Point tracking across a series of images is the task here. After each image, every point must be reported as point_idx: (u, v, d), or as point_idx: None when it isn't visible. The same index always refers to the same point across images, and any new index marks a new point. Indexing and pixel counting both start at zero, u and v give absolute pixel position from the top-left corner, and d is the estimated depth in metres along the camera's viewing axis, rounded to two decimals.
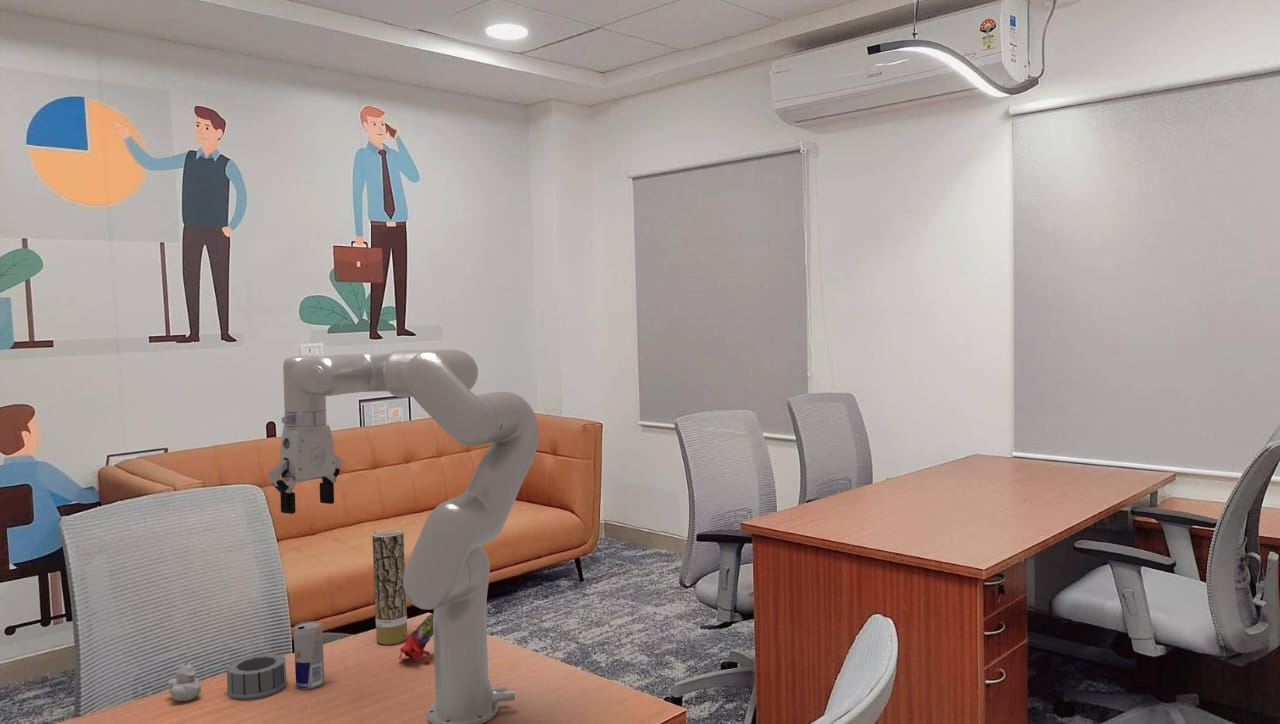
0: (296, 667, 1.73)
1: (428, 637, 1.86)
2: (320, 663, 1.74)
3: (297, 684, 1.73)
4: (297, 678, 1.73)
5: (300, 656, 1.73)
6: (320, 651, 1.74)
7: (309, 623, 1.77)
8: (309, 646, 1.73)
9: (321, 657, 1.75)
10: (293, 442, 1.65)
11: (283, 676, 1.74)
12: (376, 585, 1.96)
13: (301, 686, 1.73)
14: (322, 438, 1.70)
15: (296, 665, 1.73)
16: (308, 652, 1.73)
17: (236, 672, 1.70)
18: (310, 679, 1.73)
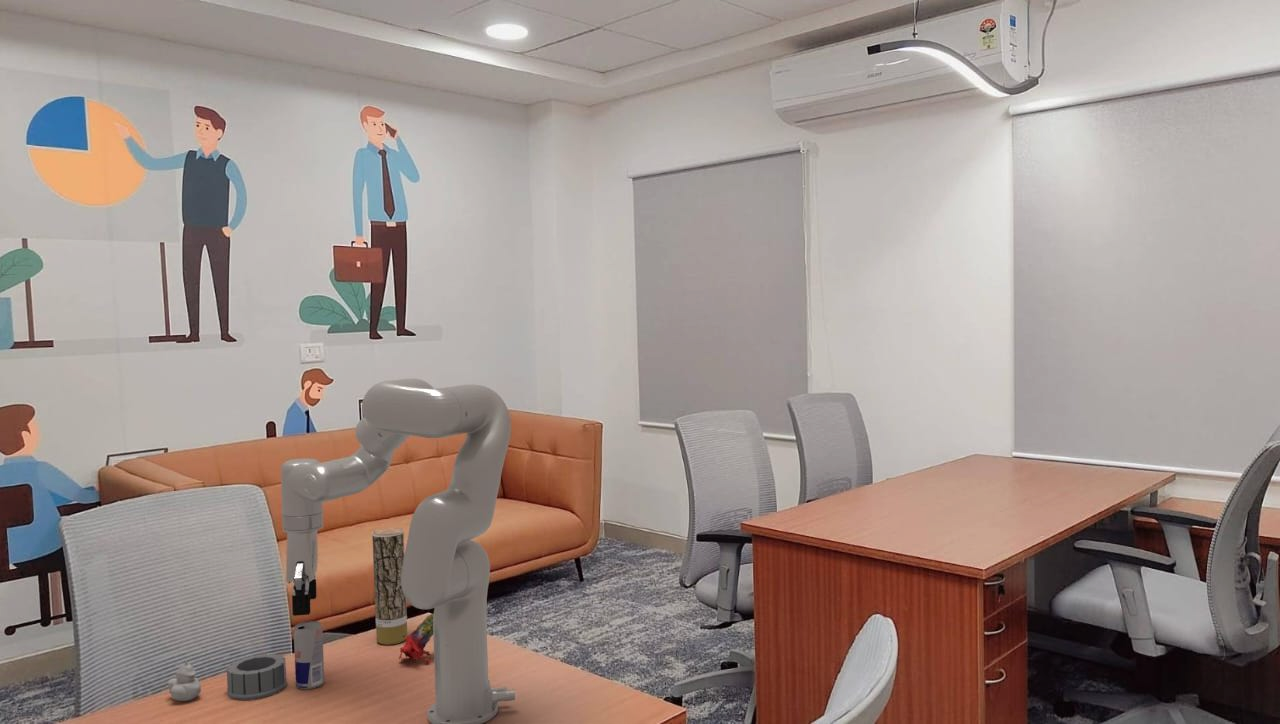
0: (296, 667, 1.73)
1: (428, 637, 1.86)
2: (320, 663, 1.74)
3: (297, 684, 1.73)
4: (297, 678, 1.73)
5: (300, 656, 1.73)
6: (320, 651, 1.74)
7: (309, 623, 1.77)
8: (309, 646, 1.73)
9: (321, 657, 1.75)
10: None
11: (283, 676, 1.74)
12: (376, 585, 1.96)
13: (301, 686, 1.73)
14: None
15: (296, 665, 1.73)
16: (308, 652, 1.73)
17: (236, 672, 1.70)
18: (310, 679, 1.73)
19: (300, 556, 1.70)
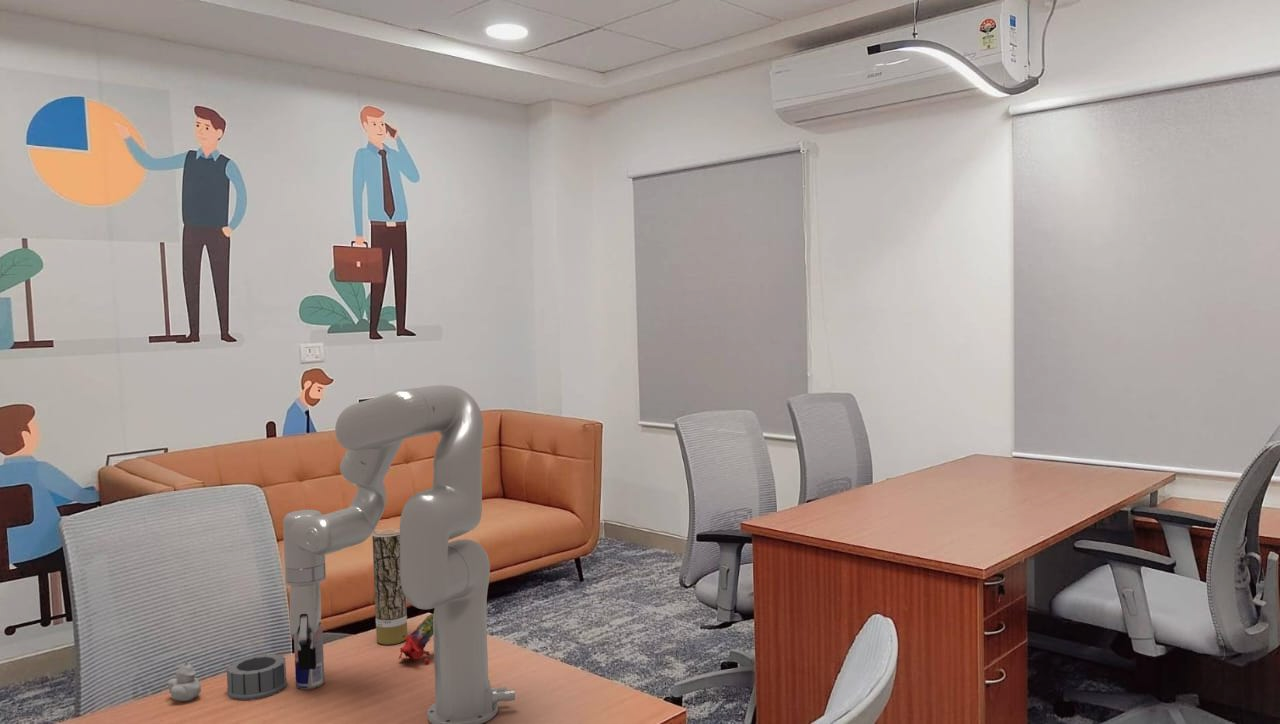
0: (296, 667, 1.73)
1: (428, 637, 1.86)
2: (320, 663, 1.74)
3: (297, 684, 1.73)
4: (297, 678, 1.73)
5: None
6: (320, 651, 1.74)
7: None
8: None
9: (321, 657, 1.75)
10: None
11: (283, 676, 1.74)
12: (376, 585, 1.96)
13: (301, 686, 1.73)
14: None
15: (296, 665, 1.73)
16: None
17: (236, 672, 1.70)
18: (310, 679, 1.73)
19: (303, 609, 1.70)
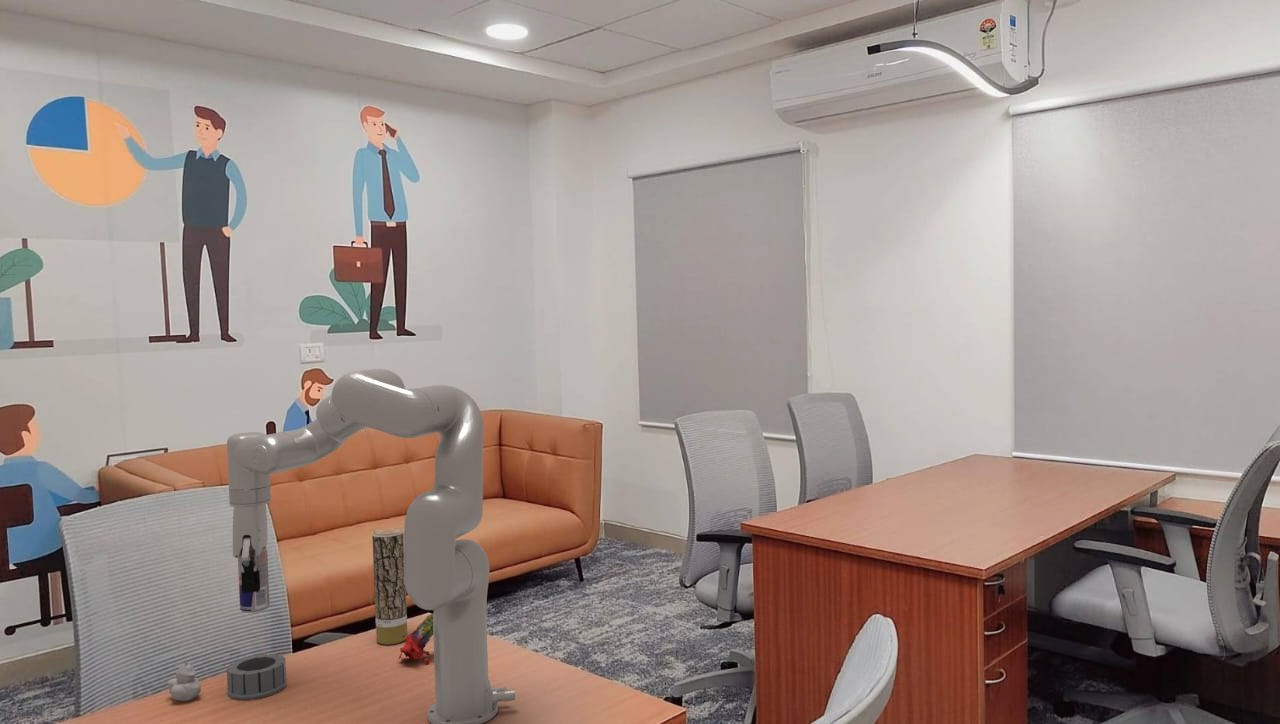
0: (240, 590, 1.71)
1: (428, 637, 1.86)
2: (264, 587, 1.72)
3: (241, 607, 1.71)
4: (241, 601, 1.71)
5: None
6: (264, 574, 1.72)
7: None
8: None
9: (266, 581, 1.73)
10: None
11: (283, 676, 1.74)
12: (376, 585, 1.96)
13: (245, 609, 1.71)
14: None
15: (240, 588, 1.71)
16: None
17: (236, 672, 1.70)
18: (254, 602, 1.71)
19: (246, 530, 1.68)
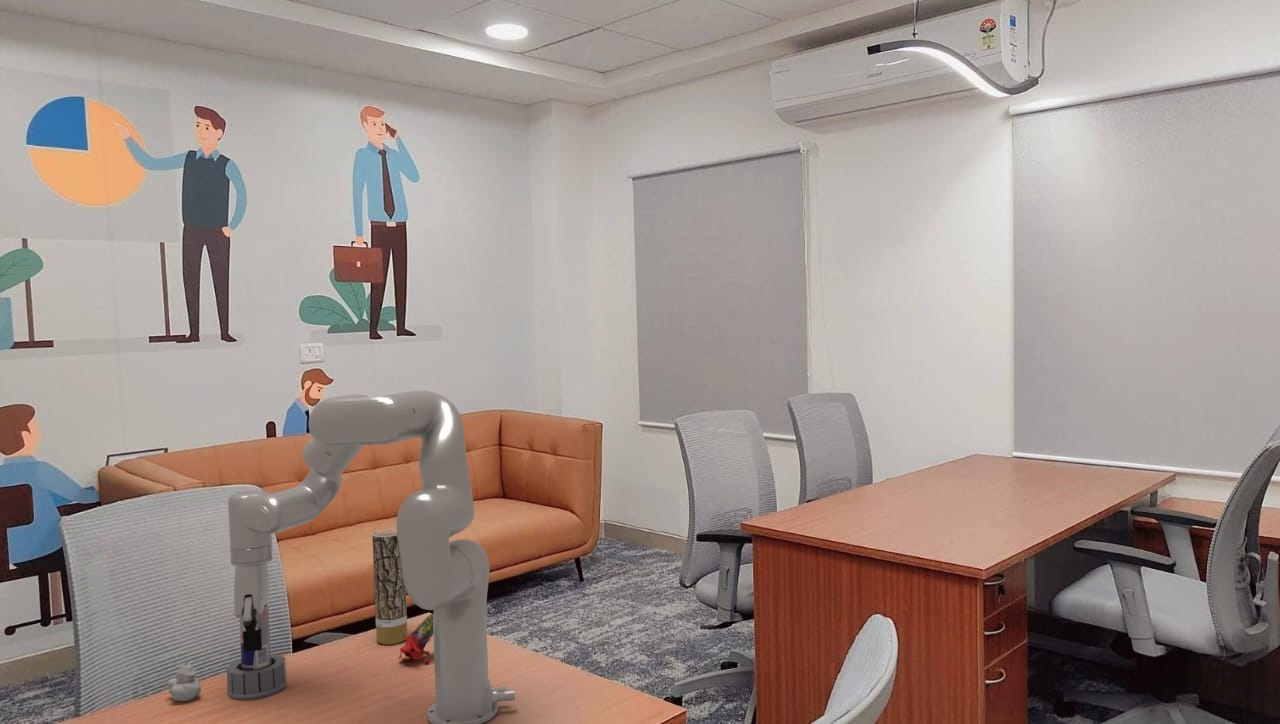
0: (241, 648, 1.72)
1: (428, 637, 1.86)
2: (266, 644, 1.73)
3: (242, 666, 1.72)
4: (242, 659, 1.72)
5: None
6: (266, 632, 1.73)
7: None
8: None
9: (267, 638, 1.73)
10: None
11: (283, 676, 1.74)
12: (376, 585, 1.96)
13: (246, 668, 1.71)
14: None
15: (241, 646, 1.72)
16: None
17: (236, 672, 1.70)
18: (256, 660, 1.71)
19: (248, 589, 1.68)
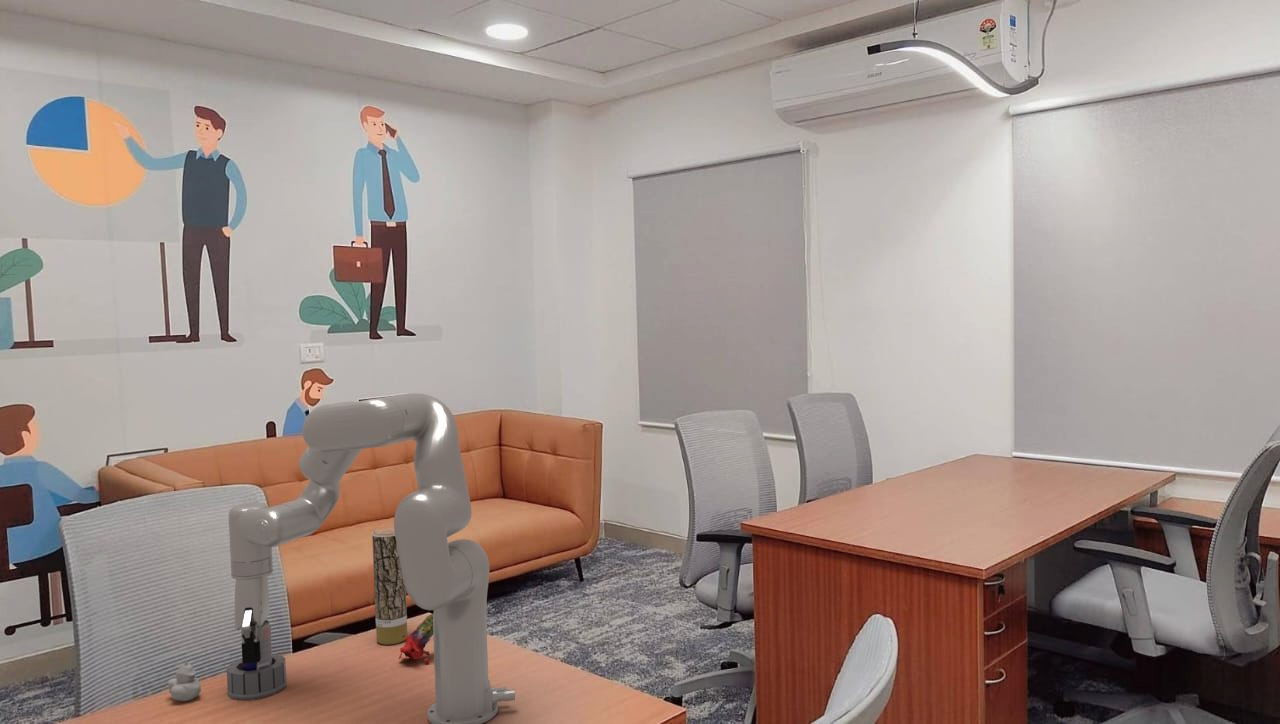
0: (243, 666, 1.72)
1: (428, 637, 1.86)
2: (267, 662, 1.73)
3: None
4: None
5: None
6: (267, 650, 1.73)
7: None
8: None
9: (269, 656, 1.73)
10: None
11: (283, 676, 1.74)
12: (376, 585, 1.96)
13: None
14: None
15: (243, 664, 1.72)
16: None
17: (236, 672, 1.70)
18: None
19: (248, 603, 1.68)
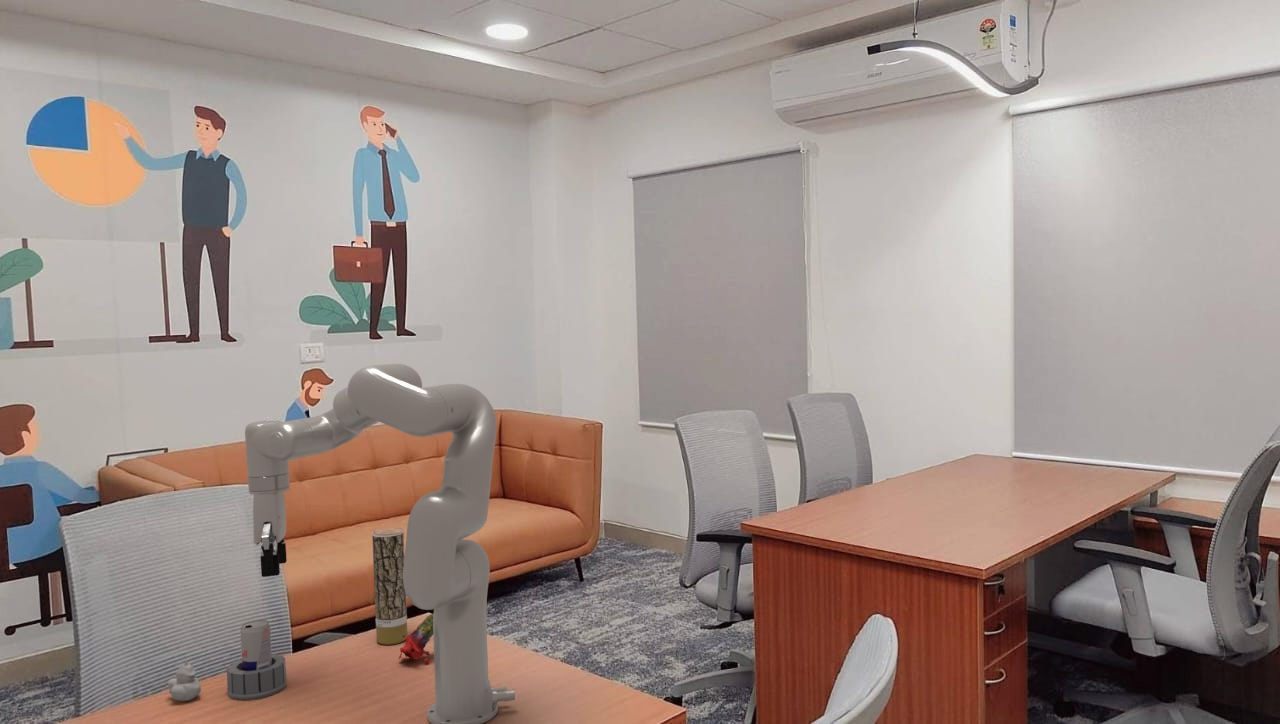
0: (243, 666, 1.72)
1: (428, 637, 1.86)
2: (267, 662, 1.73)
3: None
4: None
5: (246, 655, 1.71)
6: (267, 650, 1.73)
7: (257, 621, 1.75)
8: (255, 645, 1.71)
9: (269, 656, 1.73)
10: None
11: (283, 676, 1.74)
12: (376, 585, 1.96)
13: None
14: None
15: (243, 664, 1.72)
16: (255, 651, 1.71)
17: (236, 672, 1.70)
18: None
19: (267, 517, 1.69)
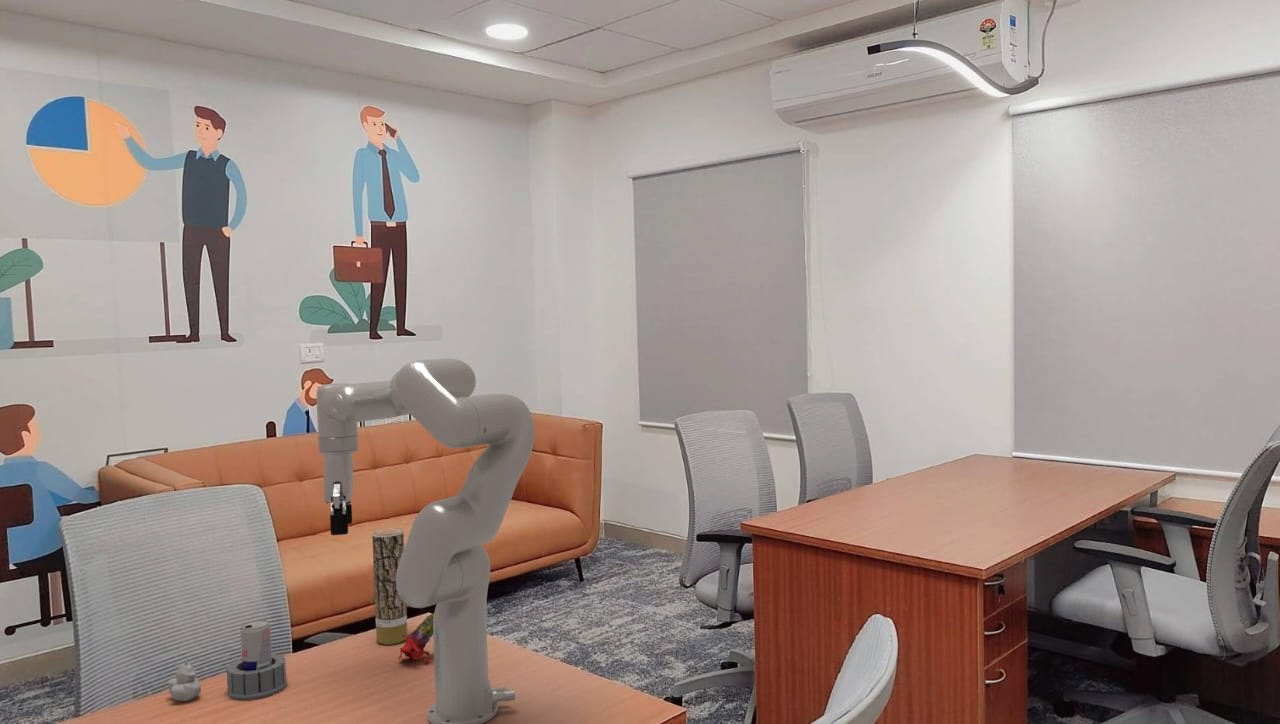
0: (243, 666, 1.72)
1: (428, 637, 1.86)
2: (267, 662, 1.73)
3: None
4: None
5: (246, 655, 1.71)
6: (267, 650, 1.73)
7: (257, 621, 1.75)
8: (255, 645, 1.71)
9: (269, 656, 1.73)
10: None
11: (283, 676, 1.74)
12: (376, 585, 1.96)
13: None
14: None
15: (243, 664, 1.72)
16: (255, 651, 1.71)
17: (236, 672, 1.70)
18: None
19: (337, 477, 1.73)
